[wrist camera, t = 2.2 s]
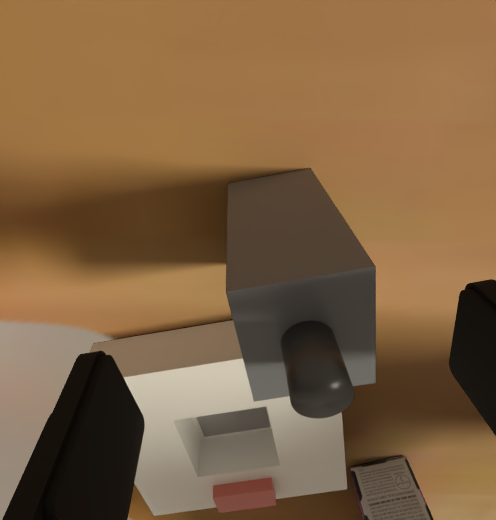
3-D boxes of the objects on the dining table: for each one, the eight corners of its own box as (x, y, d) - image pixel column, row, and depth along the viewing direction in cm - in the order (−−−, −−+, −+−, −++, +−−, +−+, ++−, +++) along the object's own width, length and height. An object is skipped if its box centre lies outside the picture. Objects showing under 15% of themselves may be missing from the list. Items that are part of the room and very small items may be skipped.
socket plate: (323, 305, 21) (340, 354, 18) (335, 446, 28) (350, 501, 25) (93, 343, 22) (68, 397, 19) (161, 471, 29) (152, 528, 26)
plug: (310, 168, 17) (407, 314, 8) (317, 249, 20) (400, 439, 10) (228, 183, 18) (224, 344, 8) (244, 262, 20) (257, 460, 10)
